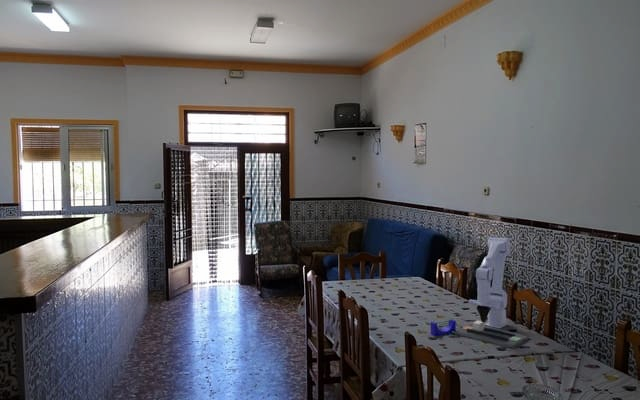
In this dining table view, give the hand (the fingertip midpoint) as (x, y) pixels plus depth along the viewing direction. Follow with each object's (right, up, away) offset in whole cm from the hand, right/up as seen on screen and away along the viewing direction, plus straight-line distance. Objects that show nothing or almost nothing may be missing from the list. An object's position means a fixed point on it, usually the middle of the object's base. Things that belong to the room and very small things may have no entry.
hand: (483, 321), depth 235 cm
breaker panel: (+2, -7, -2) cm, 7 cm away
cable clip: (-19, -7, +4) cm, 20 cm away
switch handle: (-2, -5, +2) cm, 5 cm away
